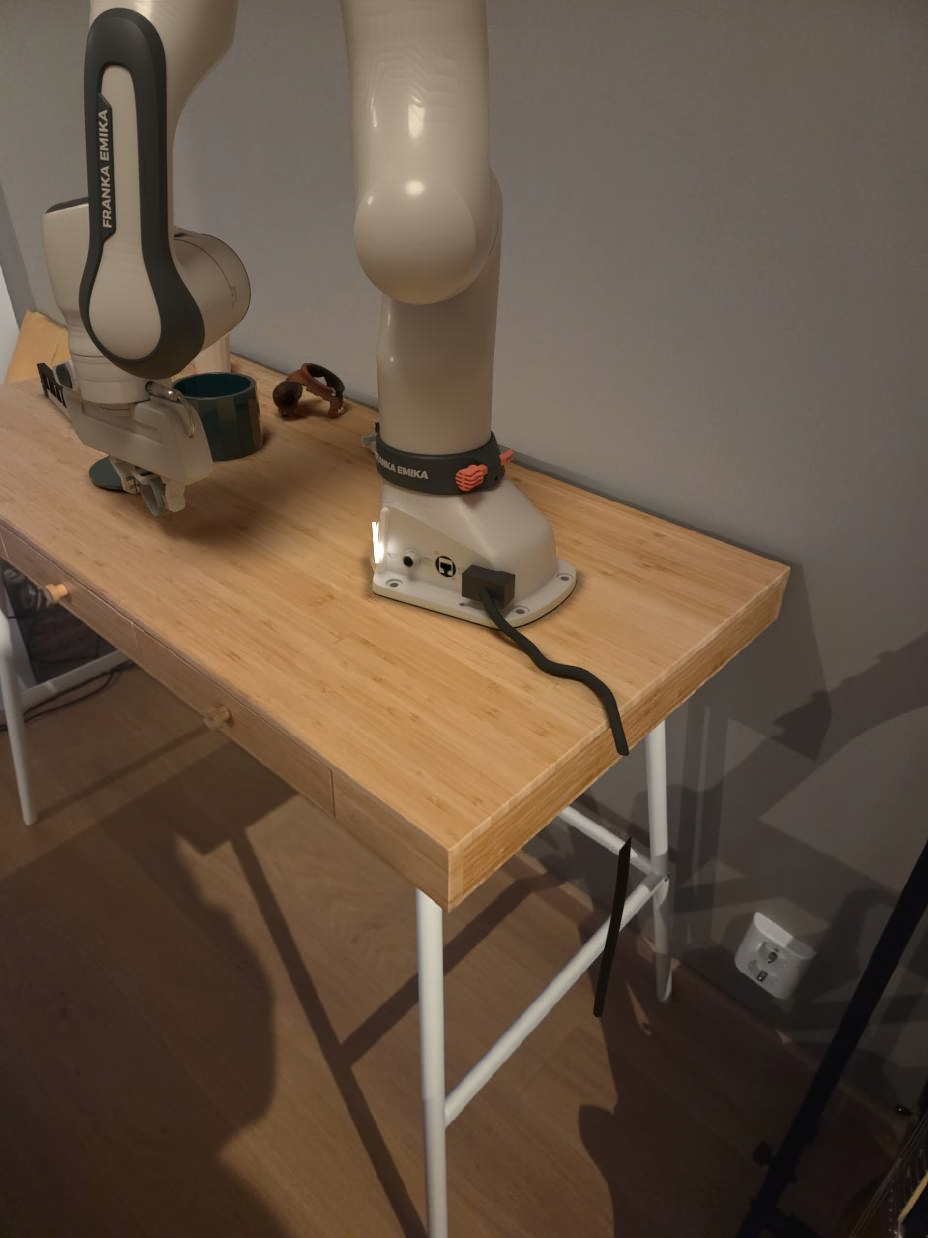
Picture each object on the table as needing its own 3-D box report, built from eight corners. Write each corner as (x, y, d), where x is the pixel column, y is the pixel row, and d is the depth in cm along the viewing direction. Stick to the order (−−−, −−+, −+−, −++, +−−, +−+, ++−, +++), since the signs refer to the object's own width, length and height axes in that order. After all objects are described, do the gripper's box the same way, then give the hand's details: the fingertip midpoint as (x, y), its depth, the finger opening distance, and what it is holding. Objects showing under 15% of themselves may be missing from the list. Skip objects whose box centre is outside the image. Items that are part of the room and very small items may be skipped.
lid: (208, 471, 108) (203, 440, 106) (126, 502, 100) (118, 469, 98) (153, 448, 115) (147, 418, 112) (71, 476, 107) (62, 444, 104)
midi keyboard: (44, 394, 133) (35, 363, 130) (52, 393, 133) (44, 362, 130) (74, 427, 121) (66, 393, 118) (84, 425, 122) (75, 392, 119)
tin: (280, 442, 117) (273, 383, 112) (214, 467, 109) (204, 405, 105) (228, 424, 123) (219, 366, 118) (162, 446, 115) (150, 386, 111)
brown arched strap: (297, 401, 133) (320, 357, 129) (338, 438, 131) (362, 394, 127) (247, 403, 123) (269, 355, 119) (290, 443, 121) (315, 396, 117)
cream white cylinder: (229, 382, 139) (223, 339, 135) (188, 381, 139) (181, 339, 135) (239, 369, 145) (233, 328, 141) (199, 369, 145) (193, 328, 141)
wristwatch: (136, 507, 93) (126, 466, 91) (160, 501, 95) (151, 459, 92) (156, 527, 89) (145, 484, 86) (181, 520, 91) (171, 477, 88)
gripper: (214, 384, 80) (238, 514, 88) (97, 350, 91) (127, 468, 98) (158, 402, 76) (188, 536, 83) (42, 364, 87) (78, 486, 94)
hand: (154, 499), depth 91 cm, fingers closed on wristwatch, 6 cm apart
